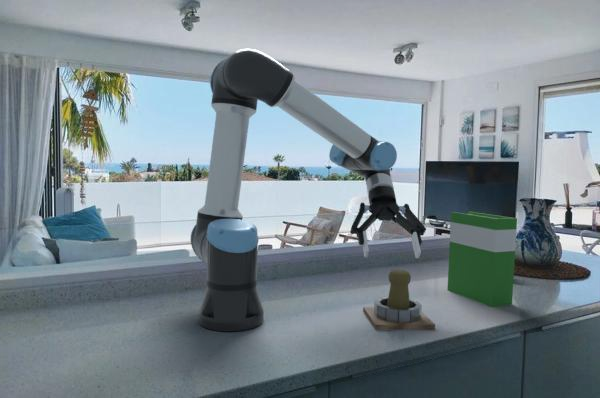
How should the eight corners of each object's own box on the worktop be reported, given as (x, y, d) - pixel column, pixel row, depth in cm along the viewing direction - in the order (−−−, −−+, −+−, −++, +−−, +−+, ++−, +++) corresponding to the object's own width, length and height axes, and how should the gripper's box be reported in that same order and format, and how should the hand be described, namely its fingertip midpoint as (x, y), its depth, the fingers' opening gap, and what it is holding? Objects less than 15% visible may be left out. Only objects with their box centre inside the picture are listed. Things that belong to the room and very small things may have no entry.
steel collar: (381, 323, 106) (381, 310, 106) (370, 308, 117) (370, 296, 117) (427, 322, 107) (427, 310, 107) (412, 308, 118) (412, 296, 118)
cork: (411, 320, 109) (413, 274, 108) (385, 318, 110) (387, 272, 109) (410, 312, 115) (412, 268, 114) (385, 310, 116) (387, 267, 115)
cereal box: (447, 290, 141) (451, 212, 139) (466, 288, 144) (470, 211, 142) (491, 306, 125) (496, 218, 123) (511, 304, 128) (517, 218, 126)
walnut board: (375, 329, 105) (375, 324, 105) (363, 311, 118) (363, 306, 118) (435, 329, 106) (435, 324, 106) (416, 311, 119) (416, 306, 119)
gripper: (419, 202, 137) (435, 263, 123) (336, 200, 135) (342, 262, 121) (427, 185, 131) (444, 247, 117) (339, 183, 129) (346, 245, 115)
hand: (392, 255), depth 119 cm, fingers open, 13 cm apart
